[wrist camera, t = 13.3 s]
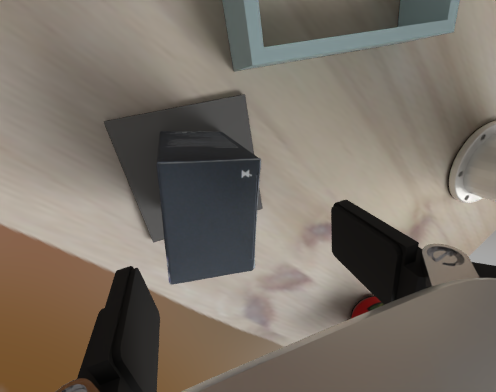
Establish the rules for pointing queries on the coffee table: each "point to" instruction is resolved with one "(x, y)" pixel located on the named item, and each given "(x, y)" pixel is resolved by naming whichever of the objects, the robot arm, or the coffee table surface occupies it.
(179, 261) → the box
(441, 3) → the cubby
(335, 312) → the coffee table surface
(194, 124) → the mat
